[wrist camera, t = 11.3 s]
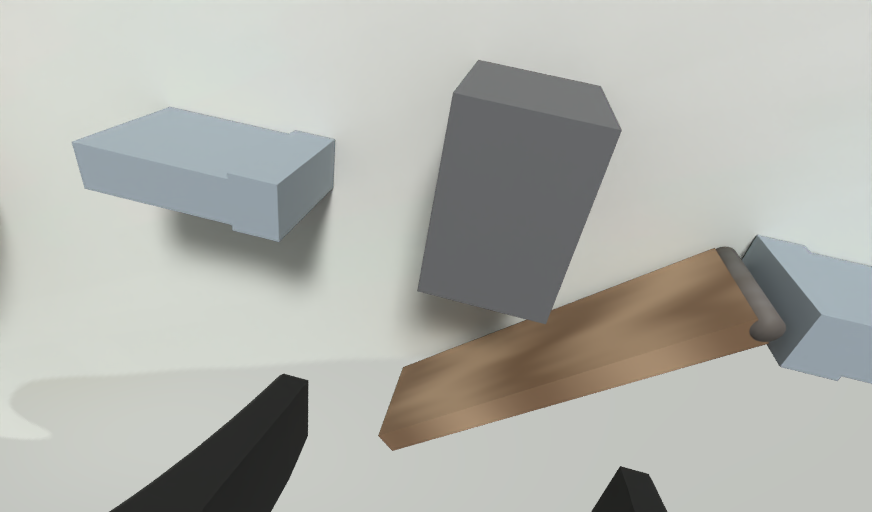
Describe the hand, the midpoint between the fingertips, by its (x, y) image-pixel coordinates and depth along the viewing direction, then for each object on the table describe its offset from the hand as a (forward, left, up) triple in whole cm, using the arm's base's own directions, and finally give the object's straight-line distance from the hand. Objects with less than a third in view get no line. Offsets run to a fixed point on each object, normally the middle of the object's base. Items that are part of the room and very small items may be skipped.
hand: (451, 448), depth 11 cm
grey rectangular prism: (0, -4, -10) cm, 10 cm away
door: (-3, +3, -9) cm, 10 cm away
